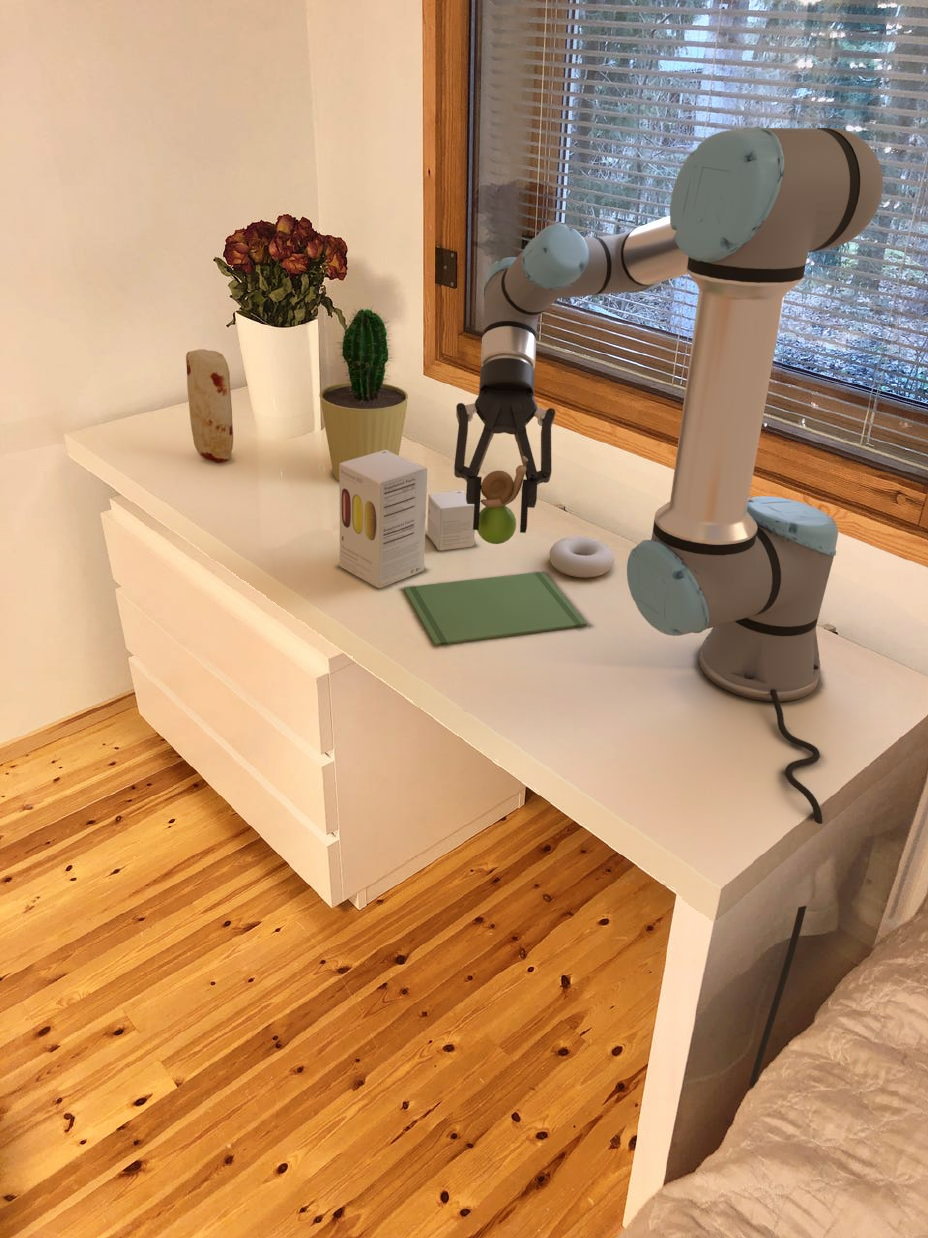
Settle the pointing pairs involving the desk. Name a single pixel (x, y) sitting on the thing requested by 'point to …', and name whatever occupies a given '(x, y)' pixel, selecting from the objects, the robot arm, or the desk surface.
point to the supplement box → (382, 517)
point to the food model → (210, 404)
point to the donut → (581, 557)
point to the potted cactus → (363, 396)
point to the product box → (450, 520)
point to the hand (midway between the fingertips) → (499, 527)
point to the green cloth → (492, 608)
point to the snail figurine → (499, 505)
